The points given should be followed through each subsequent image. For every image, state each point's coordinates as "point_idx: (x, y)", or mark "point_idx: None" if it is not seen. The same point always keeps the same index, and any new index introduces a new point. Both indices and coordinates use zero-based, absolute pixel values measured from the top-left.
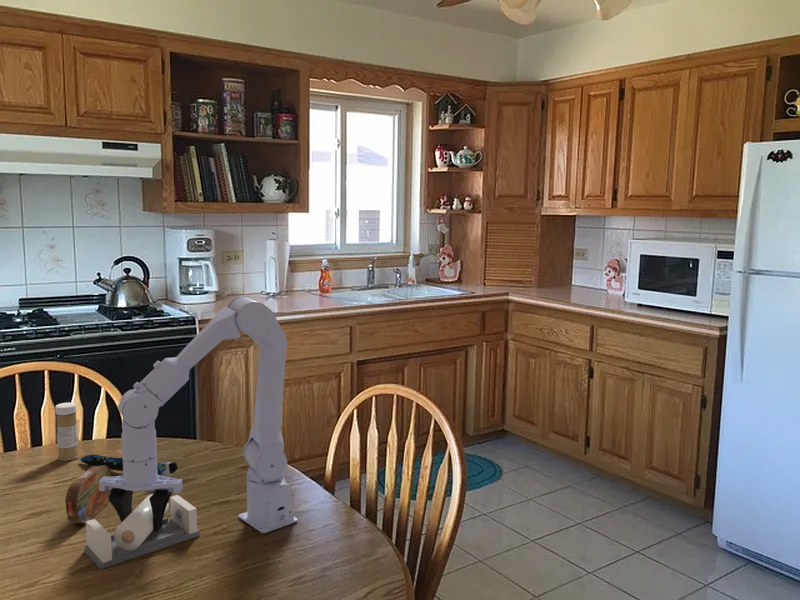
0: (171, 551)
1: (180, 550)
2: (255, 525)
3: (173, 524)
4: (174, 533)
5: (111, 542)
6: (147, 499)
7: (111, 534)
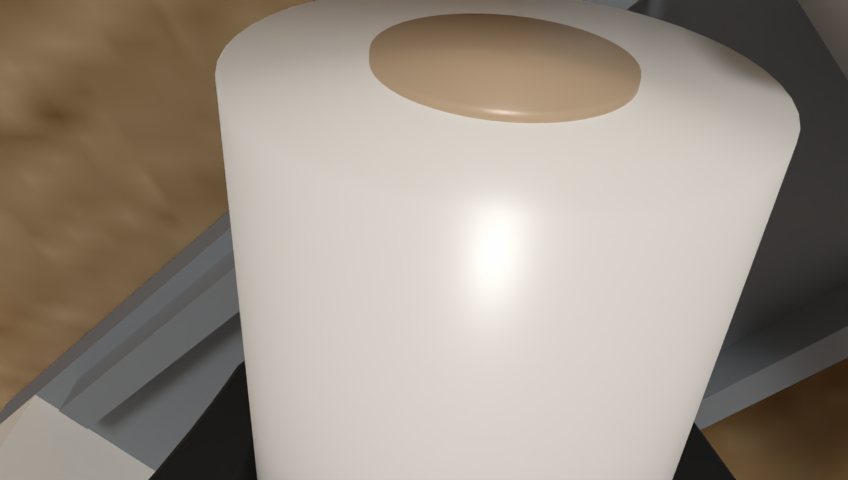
0: (749, 415)
1: (830, 404)
2: None
3: (751, 26)
4: (808, 368)
5: (179, 395)
6: (410, 453)
7: (116, 367)
